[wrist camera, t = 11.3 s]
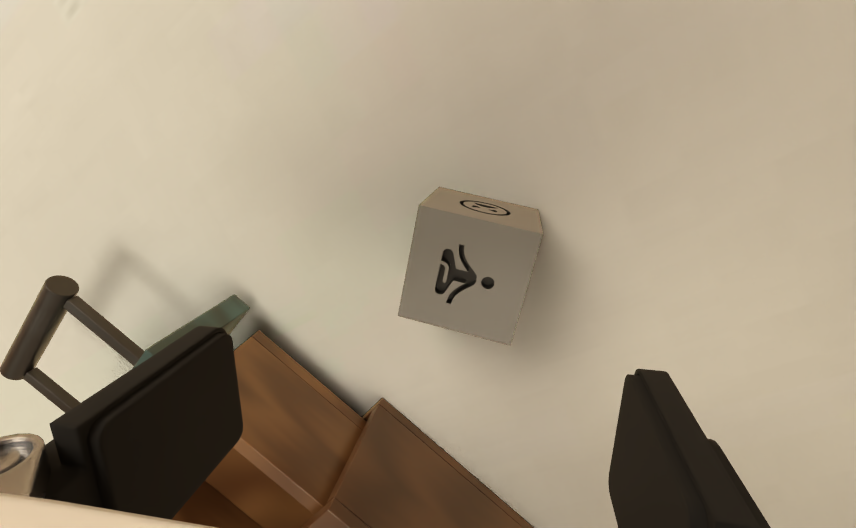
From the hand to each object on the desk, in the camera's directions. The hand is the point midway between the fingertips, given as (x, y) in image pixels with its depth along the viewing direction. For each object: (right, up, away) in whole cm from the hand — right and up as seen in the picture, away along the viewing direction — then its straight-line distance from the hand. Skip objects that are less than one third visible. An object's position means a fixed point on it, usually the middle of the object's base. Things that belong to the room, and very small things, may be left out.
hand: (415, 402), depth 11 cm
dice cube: (+3, +4, +13) cm, 14 cm away
